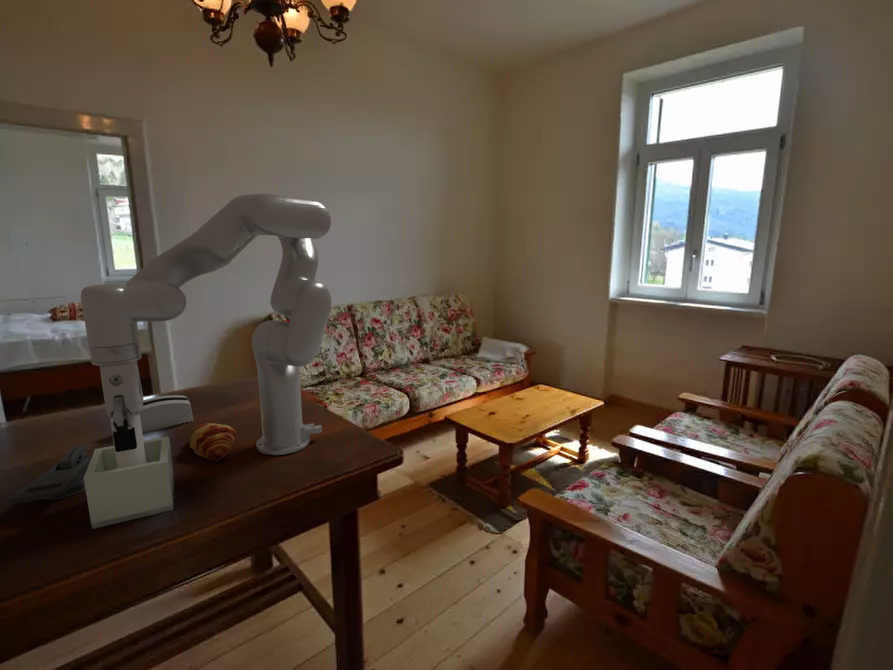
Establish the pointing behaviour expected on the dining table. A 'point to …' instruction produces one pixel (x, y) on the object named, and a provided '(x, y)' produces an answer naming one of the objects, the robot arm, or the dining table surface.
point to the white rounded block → (165, 412)
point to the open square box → (129, 485)
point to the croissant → (213, 441)
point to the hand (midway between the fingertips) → (129, 439)
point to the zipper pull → (57, 479)
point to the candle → (132, 455)
